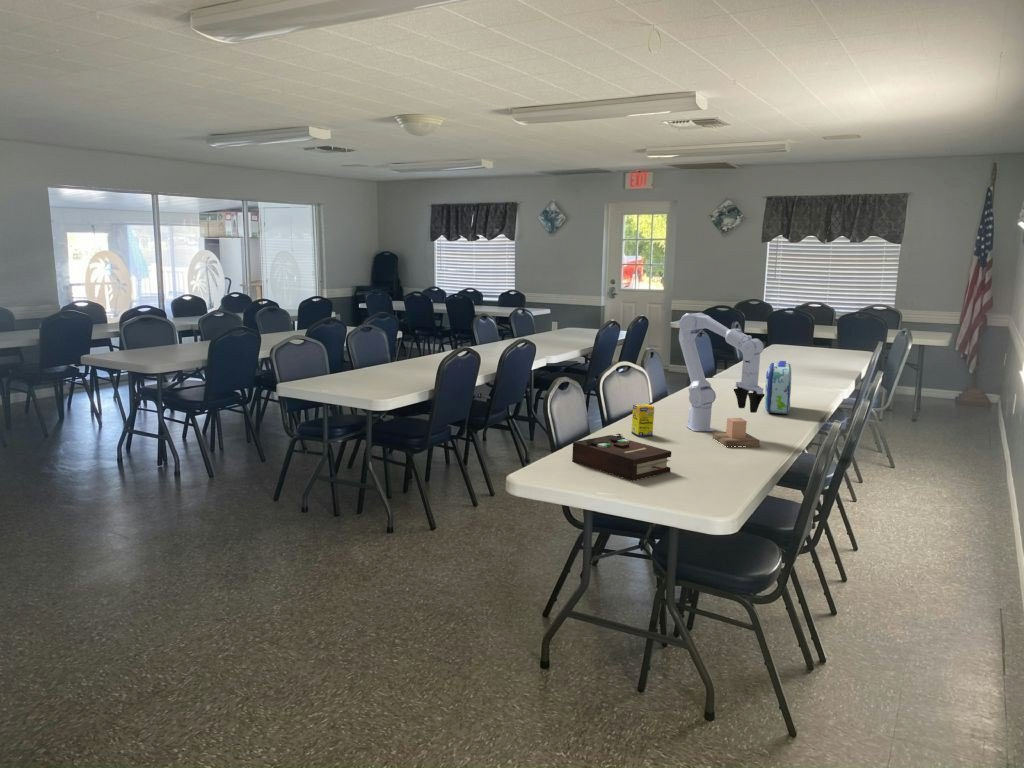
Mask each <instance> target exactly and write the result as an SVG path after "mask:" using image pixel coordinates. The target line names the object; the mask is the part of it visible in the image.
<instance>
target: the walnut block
mask: <svg viewBox="0 0 1024 768" xmlns="http://www.w3.org/2000/svg"><path fill="white" fill-rule="evenodd" d="M713 439H715V440H717V441H718V442H720V443H721V444H723V445H724V446H726V447H727V446H728V447H727V448H739V447H738V446H742V447H741V448H744V447H743V446H746V447H745V448H760V439H758V438H756V437H754V436H752V435H750V434H749V433H747V432H746V436H745V438H731V437H729V436H727V435H726V432H714V431H713V433H712V440H713ZM715 440H714V441H715ZM718 442H717V443H718ZM720 443H719V444H720ZM721 444H720V445H721ZM723 445H722V446H723ZM724 446H723V447H724ZM731 446H732V447H731ZM734 446H736V447H734ZM726 447H725V448H726Z"/></svg>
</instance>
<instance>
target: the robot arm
mask: <svg viewBox="0 0 1024 768" xmlns="http://www.w3.org/2000/svg"><path fill="white" fill-rule="evenodd" d="M678 325H679V334H678V341H679V344H680V349H681V351H682V356H683V358H684V359H683V360H684V362H685V366H686V369H687V374H688V378H689V379H690V384H689V387H688V392H689V395H688V402H689V403H690V405H691V406H690V407H689V409H688V419H687V424H685V427H686V428H688V429H689V430H691V431H692V432H714V431H715V430H714V429H713V428H712V427H711V422H712V408H713V407H712V406H713V403H714V402H715V401H716V397H717V395H716V391H715V390H714V389H713V387H712V385H711V383H710V382H709V381H708V380H707V379H706V377H705V373H704V369H703V366H702V363H701V359H700V356H699V351H698V349H697V348H698V347H697V344H696V341H695V340H696V337H697V336H698V334H700V332H701V331H703V330H704V329H707V330H709V331H711V332H713V333H714V334H717V335H719V336H721V337H723V338H724V339H725V342H726V343H727V344H729V345H730V346H733V347H734V348H736V349H738V350H740V352H741V353H742V366H741V367H742V369H741V378H740V379H741V380H740V381H735V387H736V388H733V392H734V395H735V397H736V401H737V407H738V409H745V408H746V405H747V398H748V399H749V412H750V413H751V414H752V413H753V414H754V413H755V414H756V413H758V409H759V406H760V403H761V402H762V400H763V399H764V398H765V393H764V388H763V387H762V386H760V385H759V374H760V365H761V364H760V361H761V354H762V353H763V351H764V349H765V346H764V342H762V341H761V340H760V339H759V338H752V335H747V334H745V333H743V332H742V330H741V329H740V328H731V329H729V328H728V327H727V326H725V325H723V324H722V323H720V321H719V322H718V321H717V320H715V319H713V317H711V316H710V315H708V314H705V313H703V312H697V313H685V314H683V315H682V316H681V318H680V319H679V321H678Z"/></svg>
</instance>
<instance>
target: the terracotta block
mask: <svg viewBox="0 0 1024 768" xmlns="http://www.w3.org/2000/svg"><path fill="white" fill-rule="evenodd" d="M747 423H748V421H747V420H745V419H744V418H742V417H728V418H726V435H727V436H729V437H731V438H745V436H746V433H747Z"/></svg>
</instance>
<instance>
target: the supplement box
mask: <svg viewBox="0 0 1024 768" xmlns="http://www.w3.org/2000/svg"><path fill="white" fill-rule="evenodd" d="M654 417H655V407H654V406H653V405H651V404H649V403H646V404H645V403H641V404H635V403H633V404H632V417H631V434H633V435H634V436H636V437H637V438H638V437H639V438H640V436H641V437H653V435H654V434H653V433H654V431H653V430H654Z"/></svg>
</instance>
